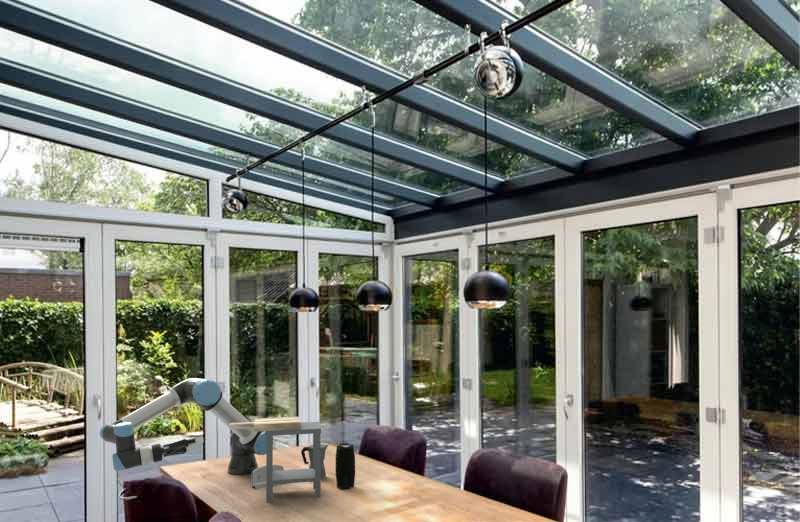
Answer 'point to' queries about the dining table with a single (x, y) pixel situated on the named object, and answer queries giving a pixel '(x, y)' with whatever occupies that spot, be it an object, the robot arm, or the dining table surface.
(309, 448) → the coffeepot
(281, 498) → the dining table surface
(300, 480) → the side table
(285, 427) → the cutting board
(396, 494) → the dining table surface
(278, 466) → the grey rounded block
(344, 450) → the portable speaker
